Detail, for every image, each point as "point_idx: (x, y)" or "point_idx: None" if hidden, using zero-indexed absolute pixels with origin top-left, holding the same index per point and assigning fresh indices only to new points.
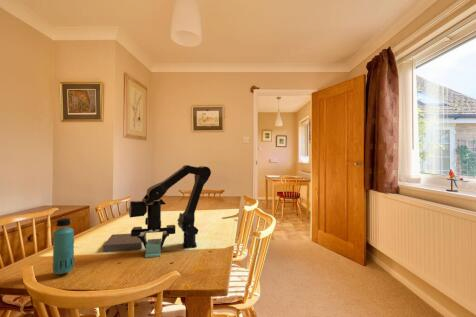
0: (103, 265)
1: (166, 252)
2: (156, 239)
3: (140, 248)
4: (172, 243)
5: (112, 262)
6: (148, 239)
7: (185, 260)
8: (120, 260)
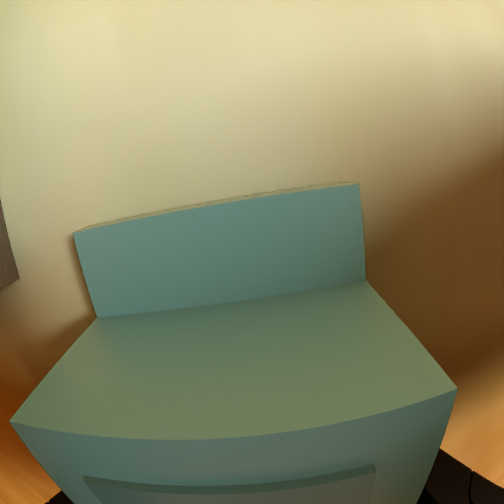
0: (16, 499)
1: None
2: (291, 501)
3: (6, 282)
4: (479, 36)
5: (23, 490)
6: (25, 432)
7: (497, 482)
8: (41, 487)
